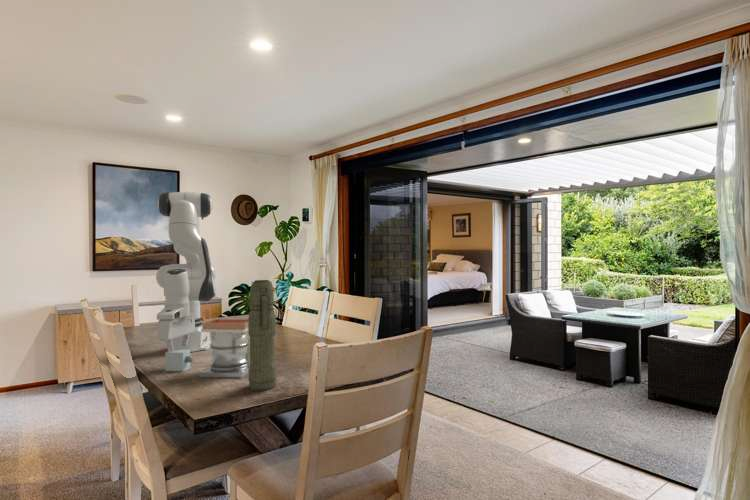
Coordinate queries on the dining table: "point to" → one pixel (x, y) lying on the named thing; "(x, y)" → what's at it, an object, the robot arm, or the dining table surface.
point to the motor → (227, 348)
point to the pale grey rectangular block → (178, 360)
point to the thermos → (262, 336)
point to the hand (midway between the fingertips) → (178, 348)
